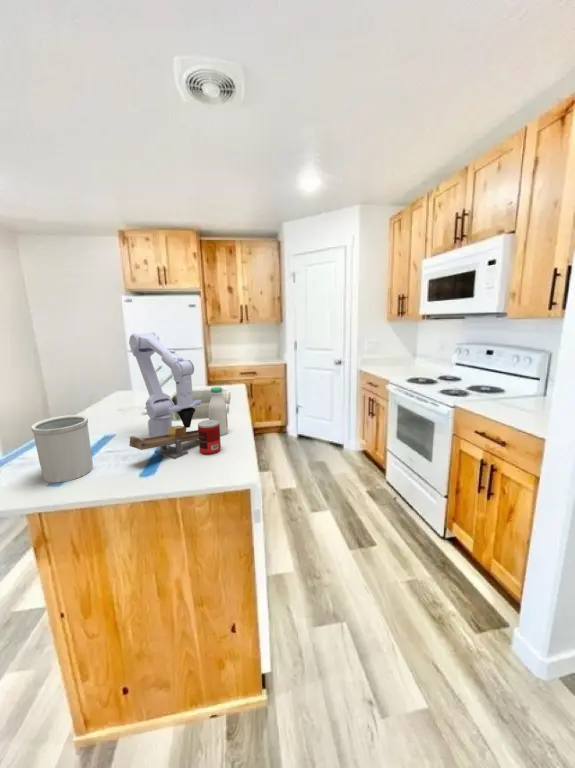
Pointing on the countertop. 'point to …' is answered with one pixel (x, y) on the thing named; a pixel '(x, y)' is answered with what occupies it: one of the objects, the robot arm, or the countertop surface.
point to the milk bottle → (218, 409)
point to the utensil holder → (63, 447)
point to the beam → (161, 440)
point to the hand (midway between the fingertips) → (187, 427)
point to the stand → (172, 450)
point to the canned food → (209, 436)
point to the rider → (176, 431)
